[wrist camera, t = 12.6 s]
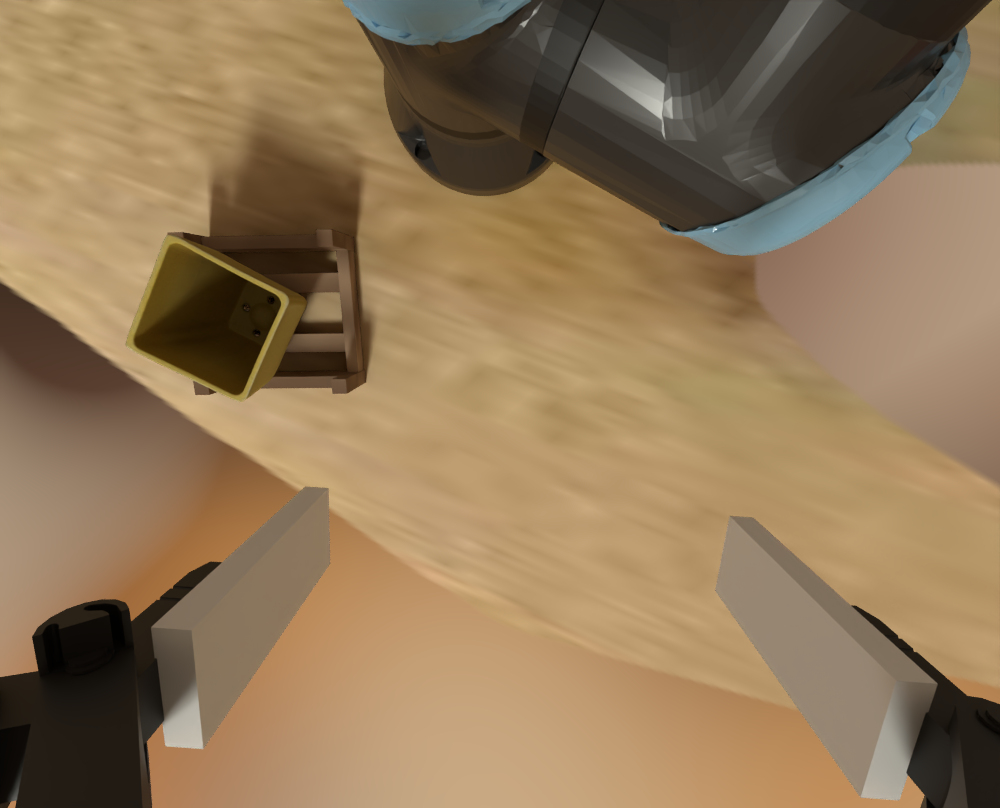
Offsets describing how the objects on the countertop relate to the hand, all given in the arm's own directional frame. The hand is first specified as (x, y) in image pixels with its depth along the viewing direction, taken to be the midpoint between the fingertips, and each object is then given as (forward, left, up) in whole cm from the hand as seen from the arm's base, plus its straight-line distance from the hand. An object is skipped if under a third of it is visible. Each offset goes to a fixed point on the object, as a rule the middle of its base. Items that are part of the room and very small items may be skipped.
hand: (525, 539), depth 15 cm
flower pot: (-6, -22, -27) cm, 36 cm away
